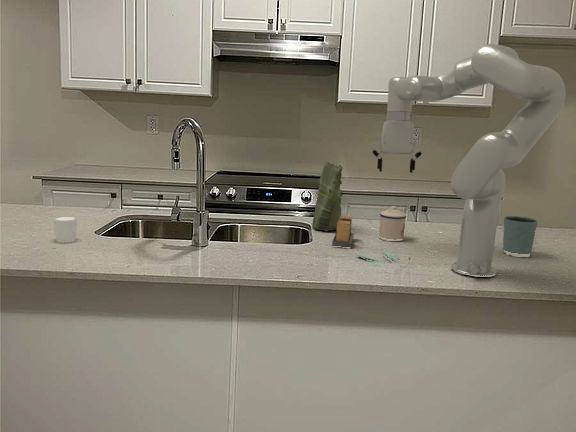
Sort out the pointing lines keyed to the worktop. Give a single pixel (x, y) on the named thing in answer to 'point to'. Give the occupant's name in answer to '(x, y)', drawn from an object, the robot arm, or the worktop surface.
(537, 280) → the worktop surface
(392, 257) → the cloth
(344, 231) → the tan wooden block
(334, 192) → the pouch
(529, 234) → the teal plant pot
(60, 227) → the white cylinder
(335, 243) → the rail
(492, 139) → the robot arm
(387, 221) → the teacup with lid
